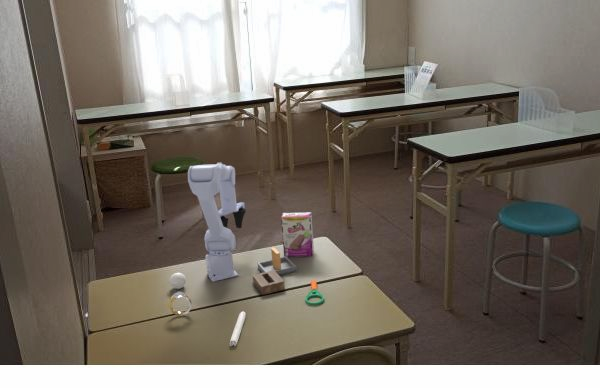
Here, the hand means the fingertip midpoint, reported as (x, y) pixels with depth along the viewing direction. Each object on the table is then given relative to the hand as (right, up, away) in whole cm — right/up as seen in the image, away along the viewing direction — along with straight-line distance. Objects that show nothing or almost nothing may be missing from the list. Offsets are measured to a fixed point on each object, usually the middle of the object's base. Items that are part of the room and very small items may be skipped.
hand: (232, 230), depth 225 cm
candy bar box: (+26, -9, 0) cm, 27 cm away
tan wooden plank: (+18, -13, -11) cm, 25 cm away
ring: (-12, -24, -38) cm, 47 cm away
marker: (+8, -27, -49) cm, 56 cm away
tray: (+17, -13, -11) cm, 25 cm away
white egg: (-17, -19, -20) cm, 32 cm away
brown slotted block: (+15, -17, -23) cm, 33 cm away
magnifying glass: (+31, -19, -31) cm, 48 cm away
